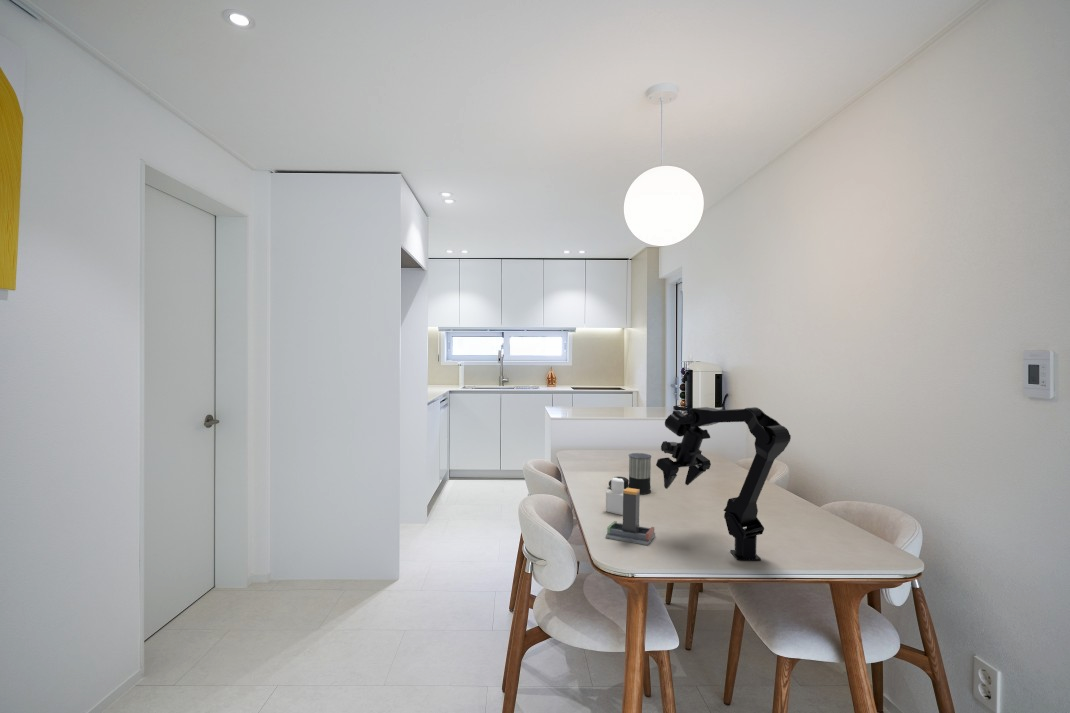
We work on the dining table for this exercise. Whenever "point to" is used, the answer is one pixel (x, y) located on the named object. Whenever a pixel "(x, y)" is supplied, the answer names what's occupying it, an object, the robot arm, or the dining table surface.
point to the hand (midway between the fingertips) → (676, 486)
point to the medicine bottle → (616, 495)
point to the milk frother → (639, 472)
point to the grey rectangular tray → (630, 534)
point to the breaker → (631, 509)
